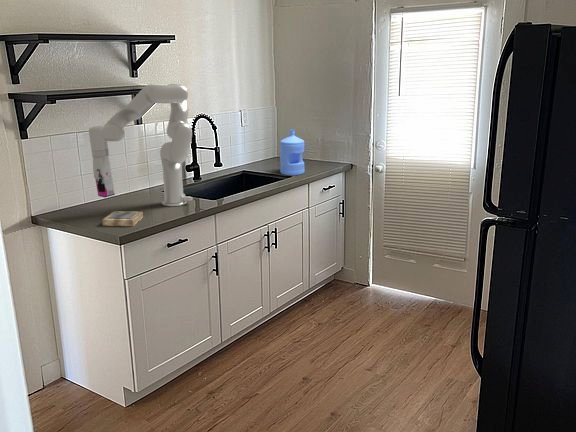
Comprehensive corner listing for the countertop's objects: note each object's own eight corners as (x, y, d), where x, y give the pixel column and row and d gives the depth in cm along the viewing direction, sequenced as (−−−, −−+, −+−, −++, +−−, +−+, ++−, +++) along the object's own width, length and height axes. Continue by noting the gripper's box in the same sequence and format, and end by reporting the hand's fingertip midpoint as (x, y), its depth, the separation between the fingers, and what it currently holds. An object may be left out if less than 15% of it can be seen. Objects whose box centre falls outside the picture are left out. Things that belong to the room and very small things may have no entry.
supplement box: (107, 193, 271) (104, 170, 268) (115, 194, 267) (111, 171, 264) (97, 195, 267) (94, 172, 263) (104, 197, 263) (101, 174, 260)
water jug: (275, 173, 359) (274, 129, 351) (291, 169, 370) (291, 127, 362) (293, 176, 349) (293, 131, 341) (309, 172, 360) (309, 129, 352)
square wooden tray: (143, 217, 263) (142, 211, 262) (133, 226, 250) (132, 219, 249) (114, 217, 264) (113, 210, 263) (102, 225, 251) (102, 219, 250)
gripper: (99, 149, 270) (104, 185, 275) (84, 157, 253) (90, 194, 258) (114, 149, 269) (119, 184, 274) (100, 156, 252) (106, 194, 258)
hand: (105, 189), depth 266 cm, fingers closed on supplement box, 7 cm apart
